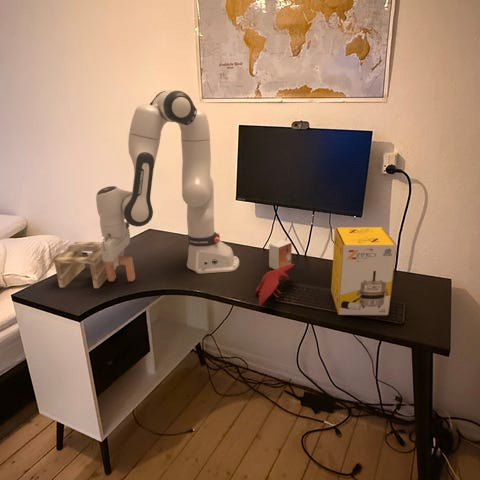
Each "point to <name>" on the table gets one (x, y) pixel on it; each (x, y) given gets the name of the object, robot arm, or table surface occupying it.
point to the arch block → (123, 261)
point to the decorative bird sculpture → (271, 282)
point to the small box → (280, 254)
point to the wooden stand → (81, 263)
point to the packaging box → (362, 270)
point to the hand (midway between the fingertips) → (119, 263)
